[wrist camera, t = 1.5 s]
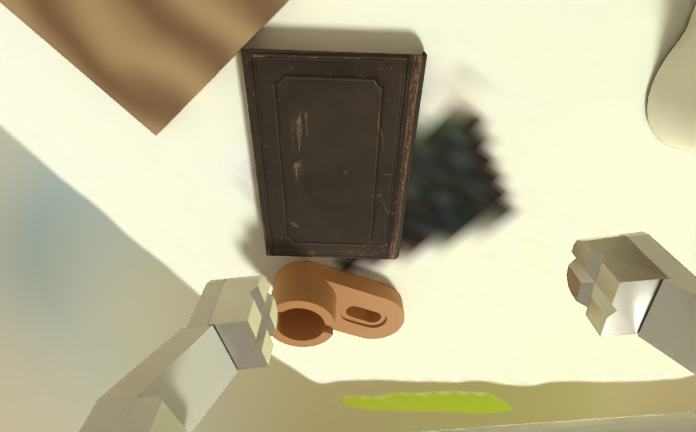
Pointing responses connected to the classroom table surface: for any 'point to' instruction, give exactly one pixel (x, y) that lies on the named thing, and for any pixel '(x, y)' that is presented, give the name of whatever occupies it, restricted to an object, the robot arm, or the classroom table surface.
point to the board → (147, 45)
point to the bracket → (332, 305)
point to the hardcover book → (333, 148)
